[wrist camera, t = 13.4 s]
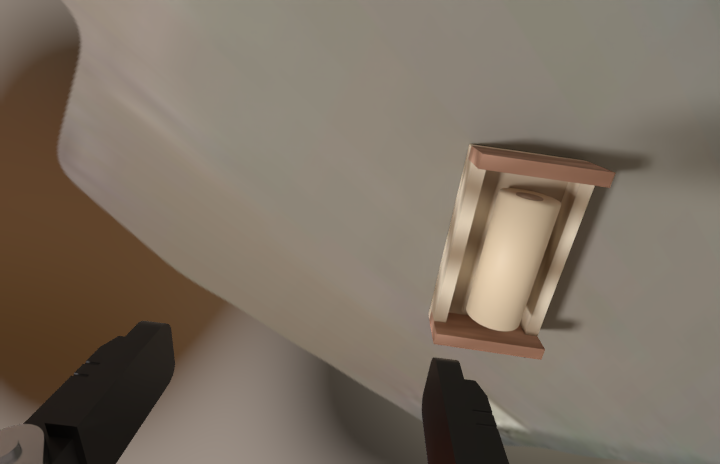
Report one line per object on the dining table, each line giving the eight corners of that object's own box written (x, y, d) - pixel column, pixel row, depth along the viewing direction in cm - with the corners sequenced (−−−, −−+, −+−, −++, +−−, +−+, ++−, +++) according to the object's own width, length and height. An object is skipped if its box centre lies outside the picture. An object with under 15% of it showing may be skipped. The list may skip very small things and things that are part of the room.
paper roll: (491, 184, 34) (511, 201, 29) (545, 191, 34) (573, 209, 29) (460, 298, 39) (473, 328, 34) (508, 303, 39) (527, 334, 34)
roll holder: (469, 144, 34) (482, 153, 29) (585, 160, 33) (615, 172, 29) (428, 314, 41) (433, 343, 36) (524, 328, 40) (541, 359, 36)
